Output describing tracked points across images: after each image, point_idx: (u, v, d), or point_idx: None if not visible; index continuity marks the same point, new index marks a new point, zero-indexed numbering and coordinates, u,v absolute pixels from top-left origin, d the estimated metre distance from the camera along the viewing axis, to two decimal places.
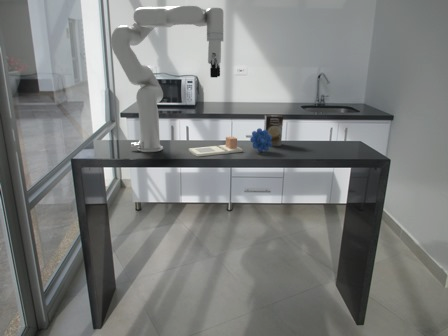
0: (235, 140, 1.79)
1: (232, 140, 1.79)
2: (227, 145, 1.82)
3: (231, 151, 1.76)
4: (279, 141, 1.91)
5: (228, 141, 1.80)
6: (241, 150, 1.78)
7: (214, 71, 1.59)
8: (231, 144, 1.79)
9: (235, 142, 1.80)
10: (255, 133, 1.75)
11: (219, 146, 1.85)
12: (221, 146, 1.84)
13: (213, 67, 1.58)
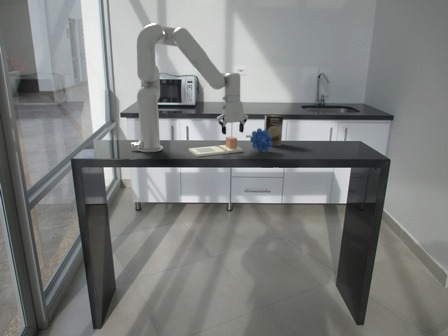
0: (235, 140, 1.79)
1: (232, 140, 1.79)
2: (227, 145, 1.82)
3: (231, 151, 1.76)
4: (279, 141, 1.91)
5: (228, 141, 1.80)
6: (241, 150, 1.78)
7: None
8: (231, 144, 1.79)
9: (235, 142, 1.80)
10: (255, 133, 1.75)
11: (219, 146, 1.85)
12: (221, 146, 1.84)
13: None
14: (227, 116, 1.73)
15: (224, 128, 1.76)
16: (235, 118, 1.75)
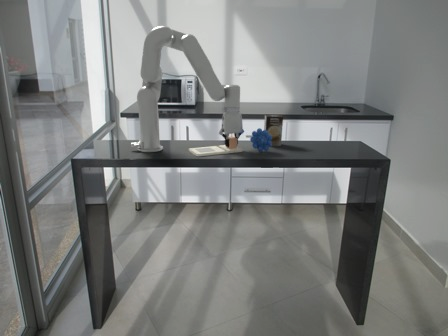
0: (235, 140, 1.79)
1: (232, 140, 1.79)
2: None
3: (231, 151, 1.76)
4: (279, 141, 1.91)
5: None
6: (241, 150, 1.78)
7: None
8: (231, 144, 1.79)
9: (235, 142, 1.80)
10: (255, 133, 1.75)
11: (219, 146, 1.85)
12: (221, 146, 1.84)
13: None
14: (226, 127, 1.75)
15: (227, 141, 1.79)
16: (234, 129, 1.77)
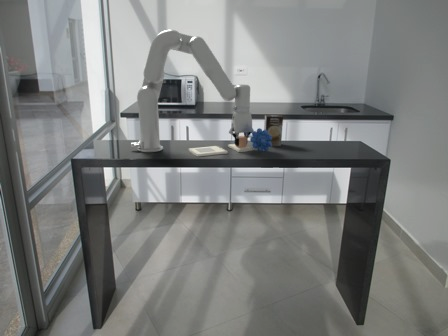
0: (245, 139, 1.82)
1: (242, 139, 1.81)
2: None
3: (241, 150, 1.78)
4: (279, 141, 1.91)
5: None
6: (251, 149, 1.81)
7: None
8: (241, 143, 1.81)
9: (245, 141, 1.82)
10: (255, 133, 1.75)
11: (229, 145, 1.87)
12: (231, 145, 1.86)
13: None
14: (236, 126, 1.77)
15: (237, 140, 1.81)
16: (244, 129, 1.79)
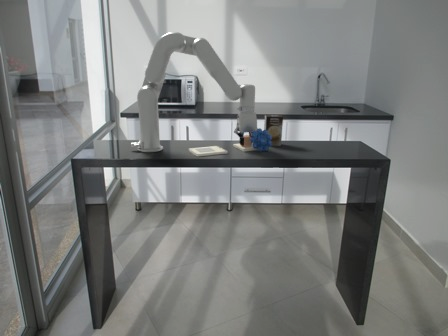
0: None
1: (247, 139, 1.82)
2: None
3: (246, 150, 1.80)
4: (279, 141, 1.91)
5: None
6: (256, 148, 1.82)
7: None
8: (246, 143, 1.82)
9: (250, 141, 1.83)
10: (255, 133, 1.75)
11: (234, 145, 1.88)
12: (236, 145, 1.87)
13: None
14: (241, 126, 1.79)
15: (242, 139, 1.83)
16: (249, 128, 1.81)
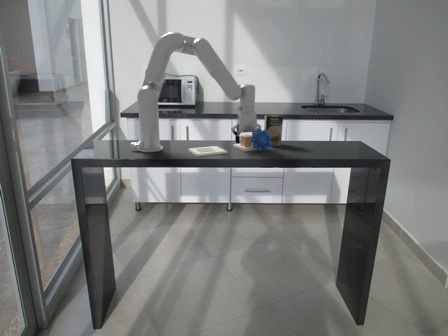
0: None
1: (247, 139, 1.82)
2: (242, 144, 1.85)
3: (246, 150, 1.80)
4: (279, 141, 1.91)
5: (243, 140, 1.83)
6: (256, 148, 1.82)
7: None
8: (246, 143, 1.82)
9: (250, 141, 1.83)
10: (255, 133, 1.75)
11: (234, 145, 1.88)
12: (236, 145, 1.87)
13: None
14: (241, 126, 1.79)
15: (238, 138, 1.81)
16: (249, 128, 1.81)
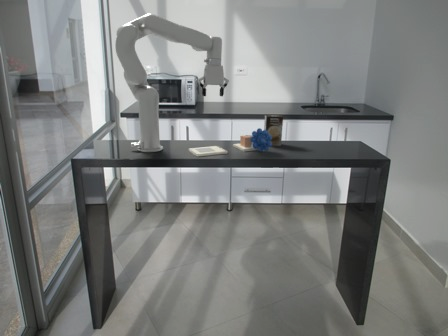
0: None
1: (247, 139, 1.82)
2: (242, 144, 1.85)
3: (246, 150, 1.80)
4: (279, 141, 1.91)
5: (243, 140, 1.83)
6: (256, 148, 1.82)
7: None
8: (246, 143, 1.82)
9: (250, 141, 1.83)
10: (255, 133, 1.75)
11: (234, 145, 1.88)
12: (236, 145, 1.87)
13: None
14: (207, 78, 1.81)
15: (204, 90, 1.84)
16: (215, 81, 1.83)
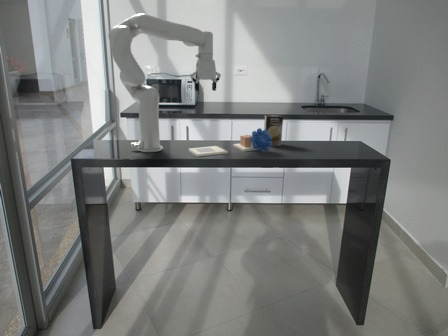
0: None
1: (247, 139, 1.82)
2: (242, 144, 1.85)
3: (246, 150, 1.80)
4: (279, 141, 1.91)
5: (243, 140, 1.83)
6: (256, 148, 1.82)
7: None
8: (246, 143, 1.82)
9: (250, 141, 1.83)
10: (255, 133, 1.75)
11: (234, 145, 1.88)
12: (236, 145, 1.87)
13: None
14: (200, 73, 1.82)
15: (197, 85, 1.85)
16: (207, 75, 1.84)
